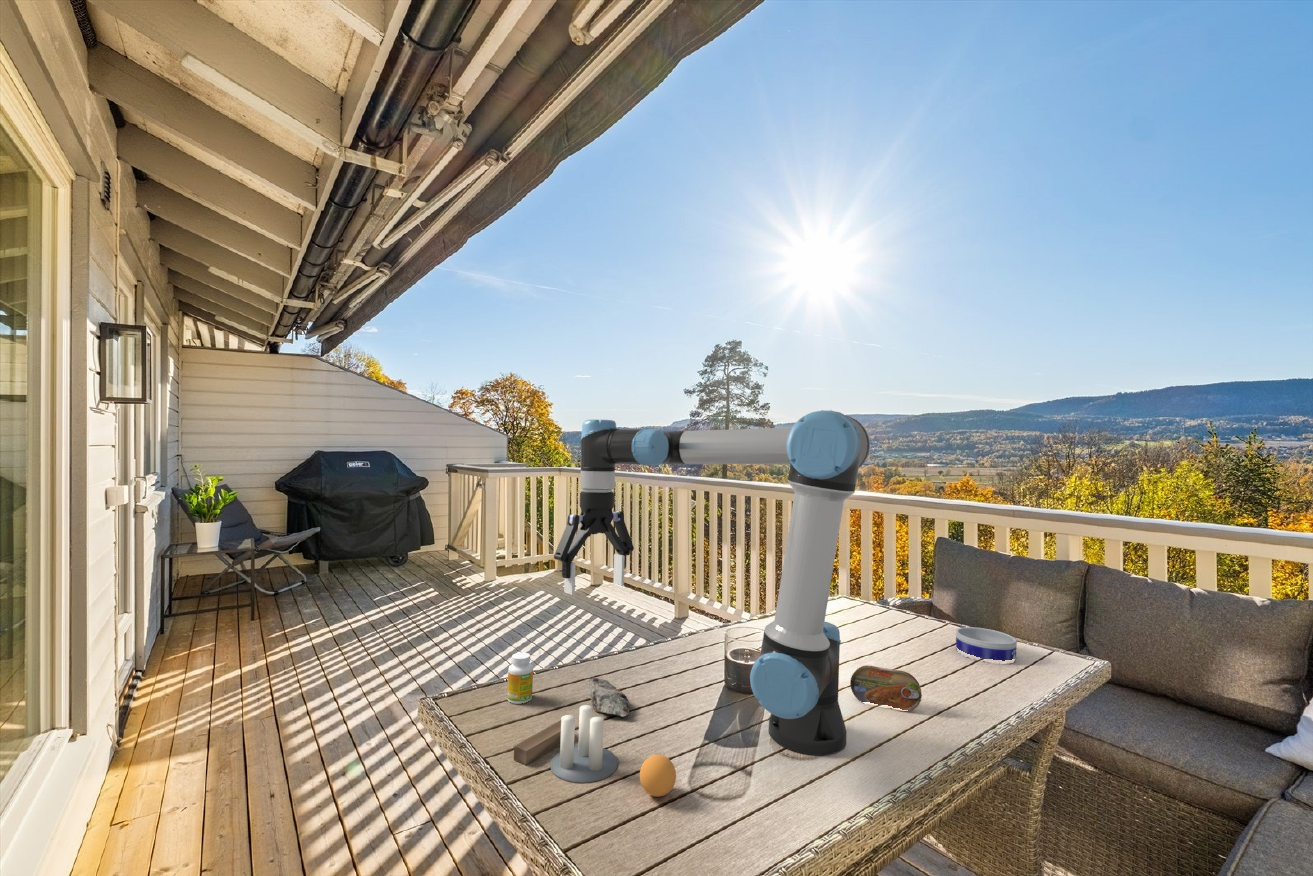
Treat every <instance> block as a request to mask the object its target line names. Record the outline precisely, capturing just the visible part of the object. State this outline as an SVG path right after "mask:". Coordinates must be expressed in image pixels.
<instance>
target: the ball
mask: <svg viewBox="0 0 1313 876" xmlns="http://www.w3.org/2000/svg"><path fill="white" fill-rule="evenodd" d="M676 780H677V772H676V767H675V766H674V763H673V762H672V761H671V760H670V758H668V757H667V756H665V755H663V754H653V755H650V756H649V757H648V758H646V759H645V760H644V761H643V763H642V765H641V767H640V771H639V781H640V785H641V786H642V789H643V790H644V791H645V792H646V793H647V794H648V795H650V796H652V797H656V798H659V797H660V798H661V797H664V796H666V795H668V794H669V793H670V792H671V791H672V790H673V789H674V787H675V783H676Z"/></svg>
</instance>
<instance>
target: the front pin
mask: <svg viewBox="0 0 1313 876" xmlns="http://www.w3.org/2000/svg"><path fill="white" fill-rule="evenodd" d="M604 721H605V719H604V718H603V717H602V716H592V718H591V719H590V738H589V769H590V770H592V771H598V770H600V769H602V756H603V748H604V726H605V725H604Z"/></svg>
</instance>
